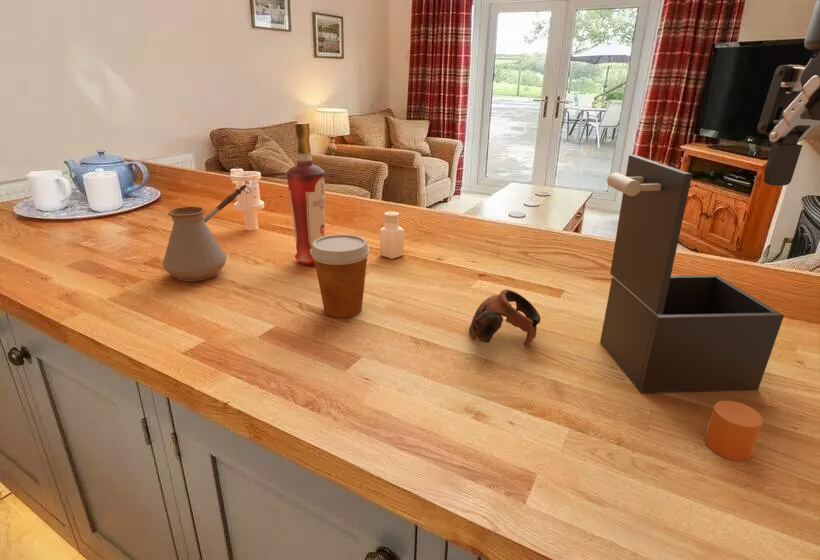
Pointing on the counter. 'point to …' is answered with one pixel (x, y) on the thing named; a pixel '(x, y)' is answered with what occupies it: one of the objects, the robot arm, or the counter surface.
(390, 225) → the white medicine bottle
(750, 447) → the orange cylinder
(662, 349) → the dark grey storage bin
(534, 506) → the counter surface
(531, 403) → the counter surface
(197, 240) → the coffee pot
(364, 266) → the disposable coffee cup
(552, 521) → the counter surface
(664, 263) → the box lid with handle
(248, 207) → the white plastic fitting
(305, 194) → the liquor
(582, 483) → the counter surface
